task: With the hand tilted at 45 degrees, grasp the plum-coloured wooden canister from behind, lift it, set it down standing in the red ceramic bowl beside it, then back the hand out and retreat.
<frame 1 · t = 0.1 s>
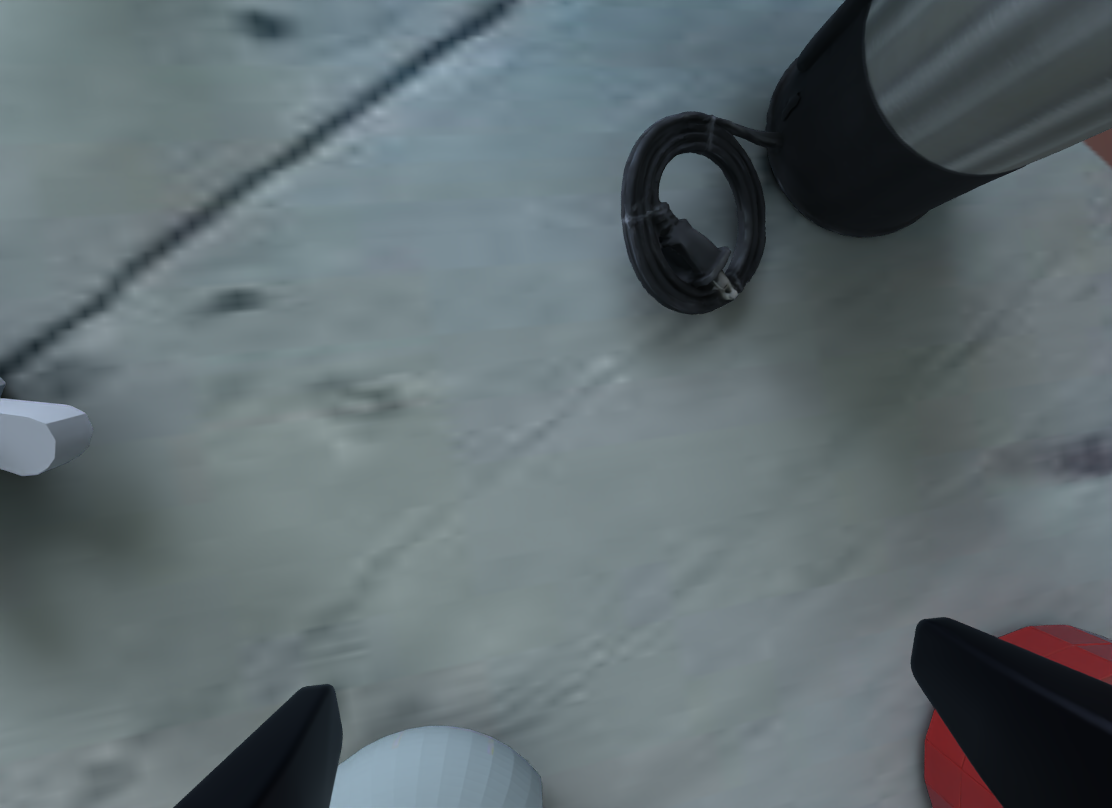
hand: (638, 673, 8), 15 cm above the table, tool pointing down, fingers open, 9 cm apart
bowl: (1033, 745, 26), on the table
milk frother: (783, 184, 24), on the table
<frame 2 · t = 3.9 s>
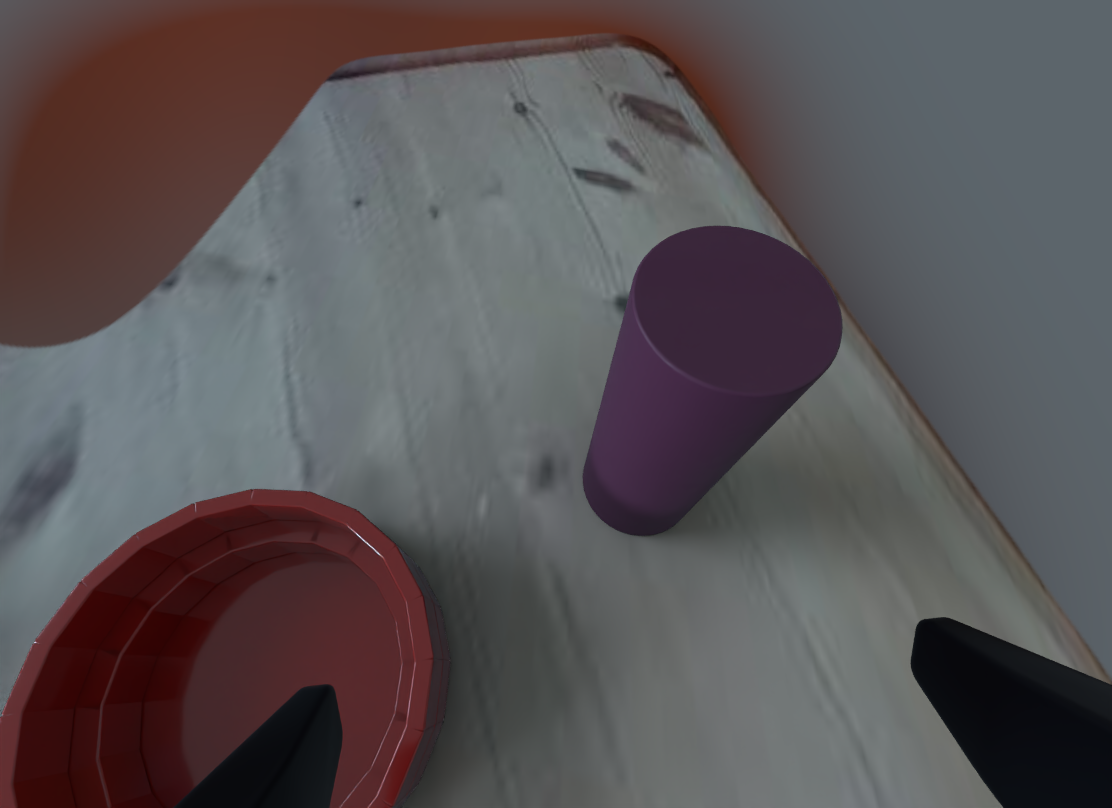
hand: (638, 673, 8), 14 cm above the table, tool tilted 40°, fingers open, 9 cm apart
canister: (637, 481, 24), on the table
bowl: (286, 683, 20), on the table
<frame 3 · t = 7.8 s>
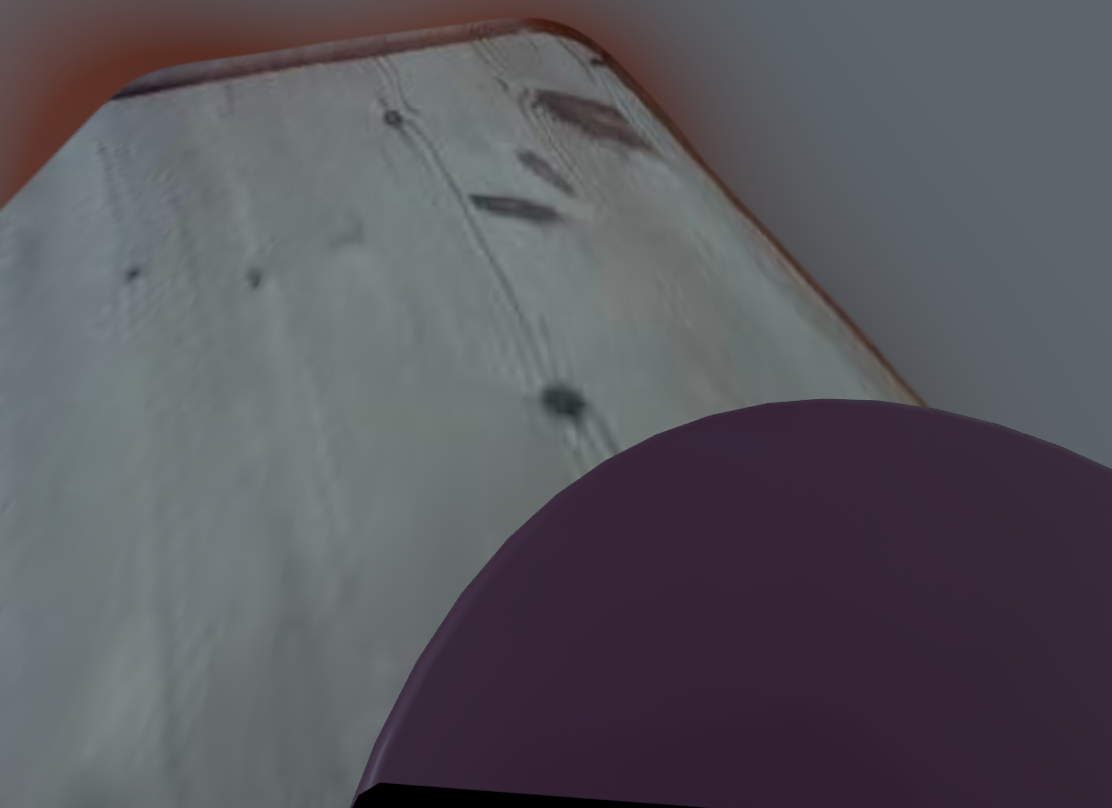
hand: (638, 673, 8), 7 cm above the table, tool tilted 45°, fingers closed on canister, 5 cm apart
canister: (601, 750, 13), on the table, touching gripper
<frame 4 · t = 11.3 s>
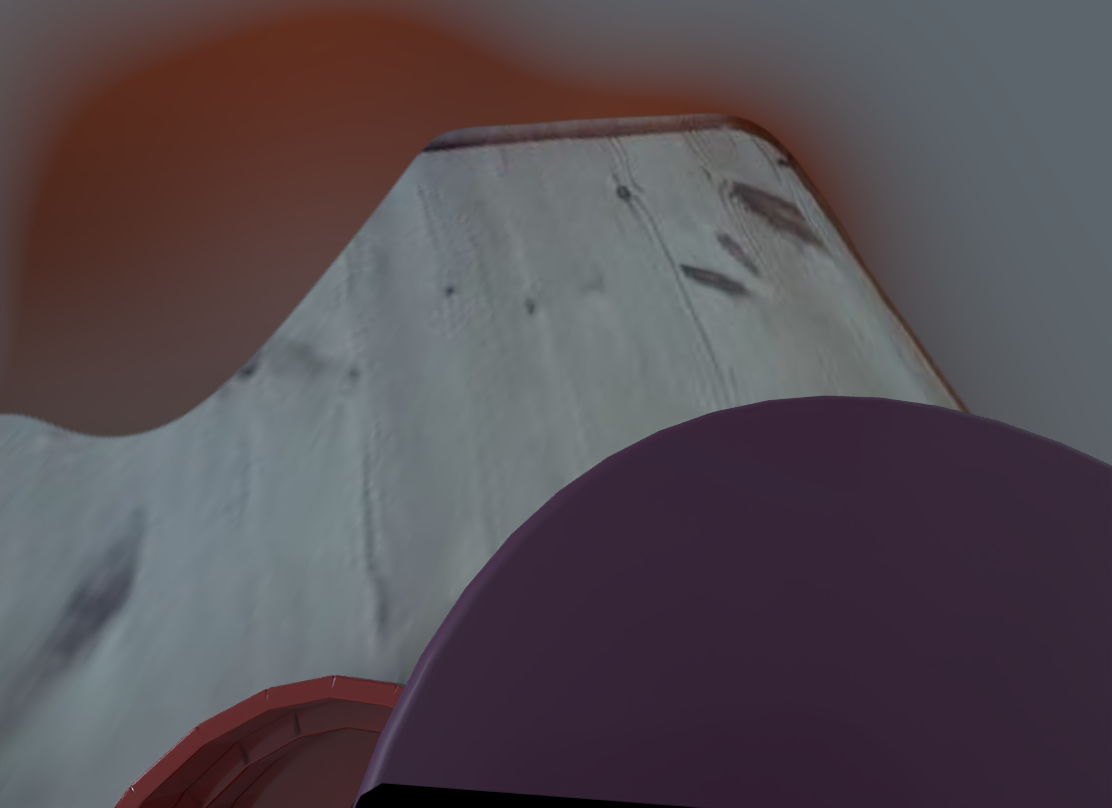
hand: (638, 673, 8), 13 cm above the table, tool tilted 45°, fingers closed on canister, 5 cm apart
canister: (602, 749, 13), point 7 cm above the table, touching gripper
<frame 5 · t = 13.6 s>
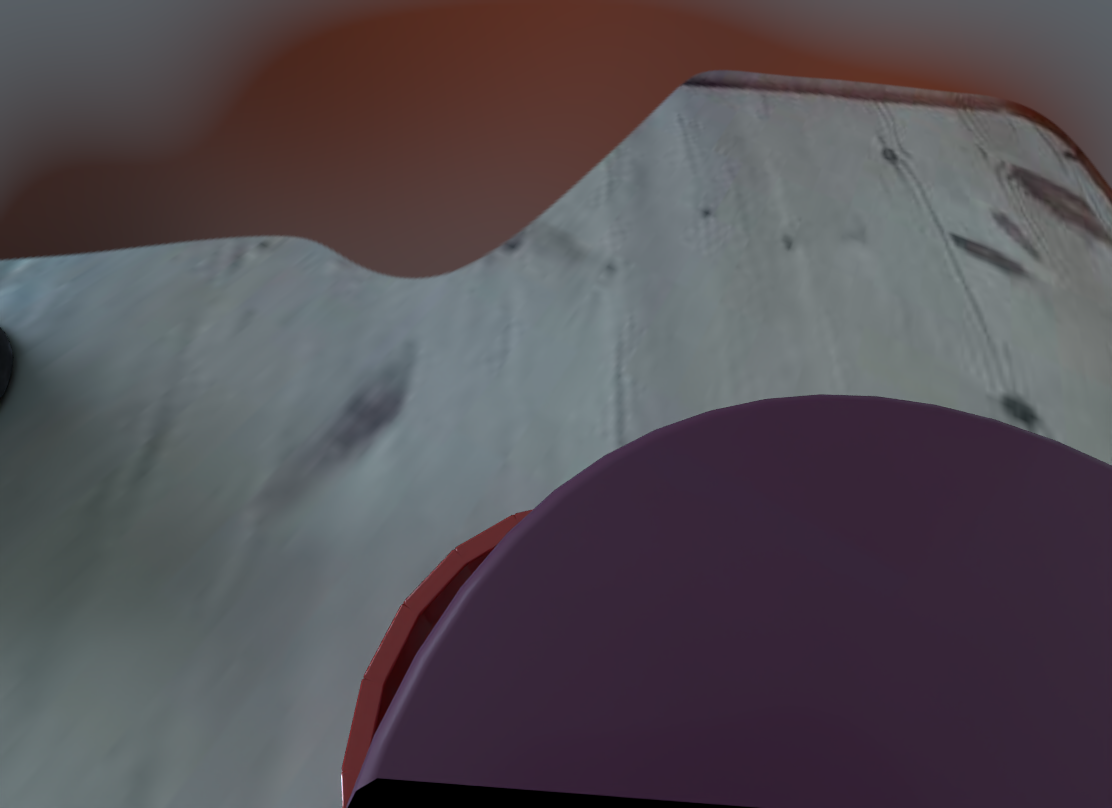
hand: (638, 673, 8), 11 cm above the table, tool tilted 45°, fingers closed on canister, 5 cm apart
canister: (601, 748, 13), point 4 cm above the table, touching gripper
bowl: (587, 734, 17), on the table
when the fingers open (7 cm above the table, at t = 15.1 s): canister stays where it is, resting on bowl.
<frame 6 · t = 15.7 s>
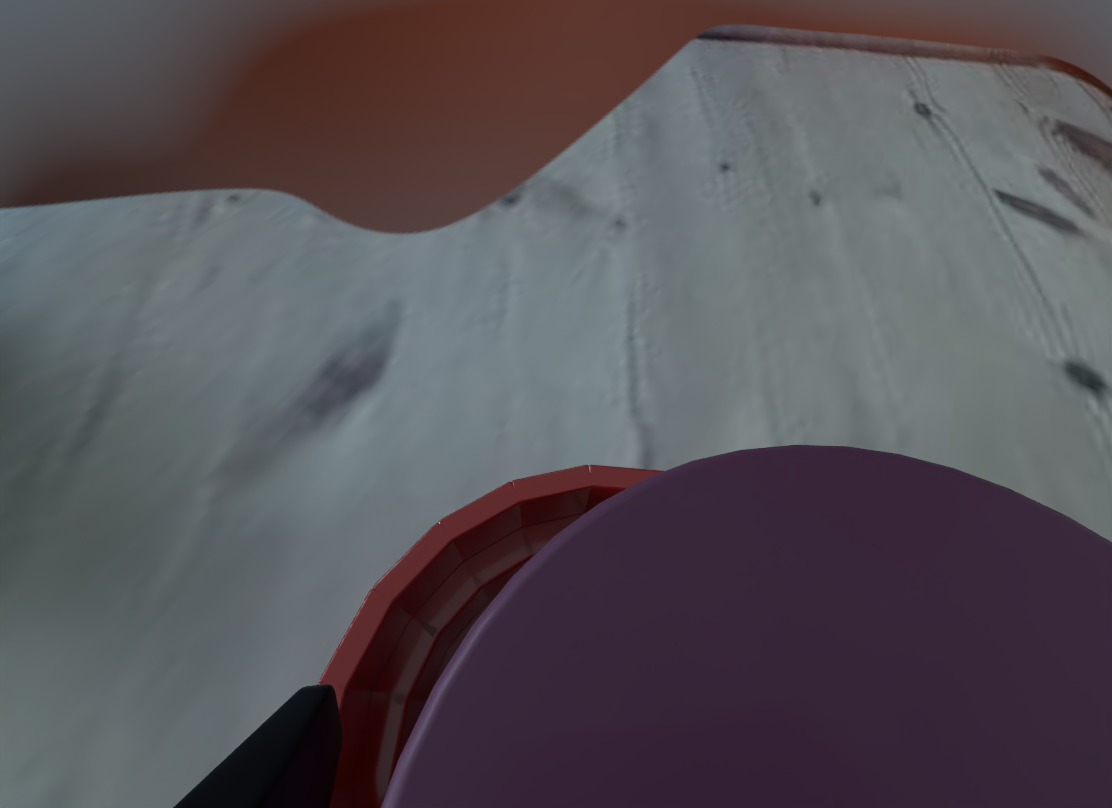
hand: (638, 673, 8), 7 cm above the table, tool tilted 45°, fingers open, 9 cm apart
canister: (600, 753, 13), resting on bowl
bowl: (599, 749, 14), on the table
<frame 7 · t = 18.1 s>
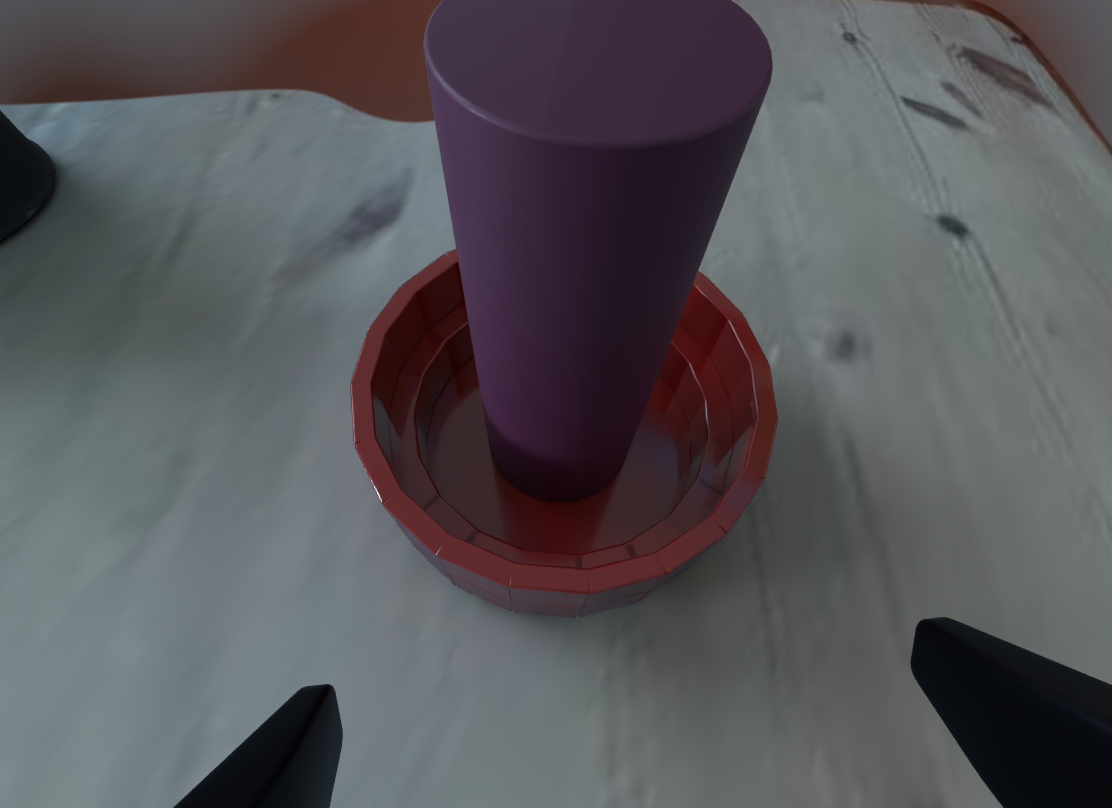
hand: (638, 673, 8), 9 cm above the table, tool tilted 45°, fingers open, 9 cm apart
canister: (559, 435, 19), resting on bowl
bowl: (559, 440, 19), on the table
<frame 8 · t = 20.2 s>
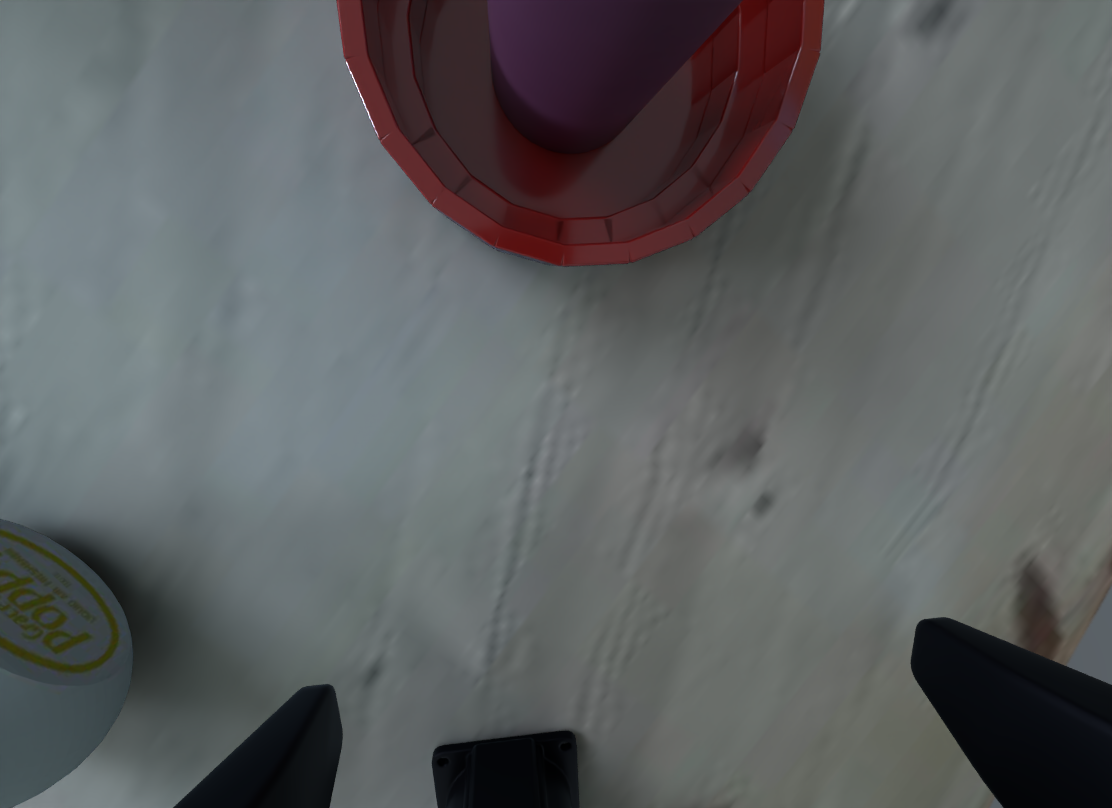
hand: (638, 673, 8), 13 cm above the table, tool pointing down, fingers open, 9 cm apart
canister: (569, 69, 17), resting on bowl
bowl: (568, 73, 17), on the table
air freshener: (24, 606, 20), on the table
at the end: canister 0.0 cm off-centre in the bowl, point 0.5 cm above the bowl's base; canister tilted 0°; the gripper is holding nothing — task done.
